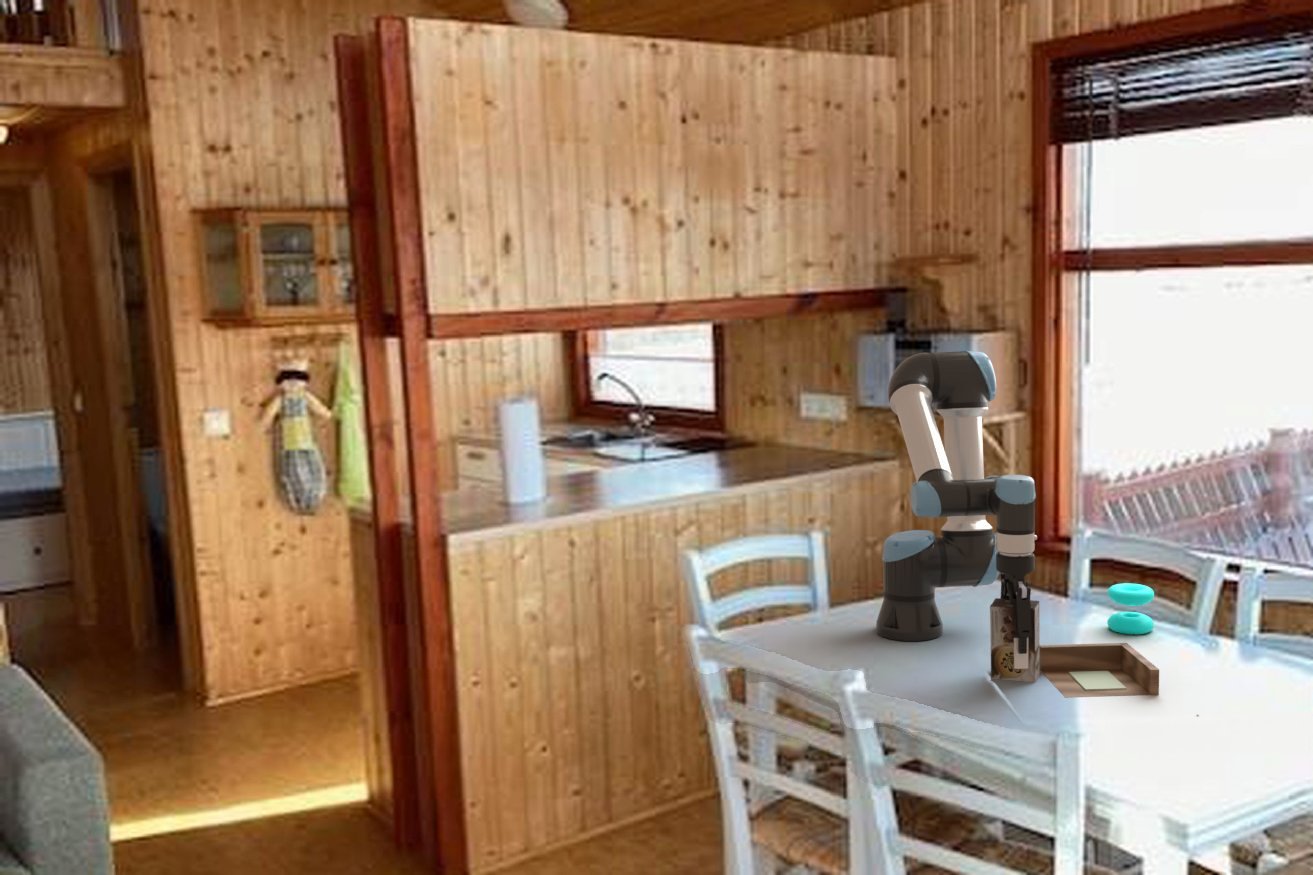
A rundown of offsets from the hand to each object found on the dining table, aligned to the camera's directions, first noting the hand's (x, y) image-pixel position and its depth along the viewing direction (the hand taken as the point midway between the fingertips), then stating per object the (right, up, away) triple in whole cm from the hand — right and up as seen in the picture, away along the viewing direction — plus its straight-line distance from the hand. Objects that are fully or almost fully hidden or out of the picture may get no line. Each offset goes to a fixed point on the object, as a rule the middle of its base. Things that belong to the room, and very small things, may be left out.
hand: (1015, 661), depth 264 cm
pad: (+15, -3, -5) cm, 16 cm away
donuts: (+35, +1, +33) cm, 48 cm away
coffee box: (0, -4, 0) cm, 4 cm away
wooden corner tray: (+15, -4, -5) cm, 16 cm away
